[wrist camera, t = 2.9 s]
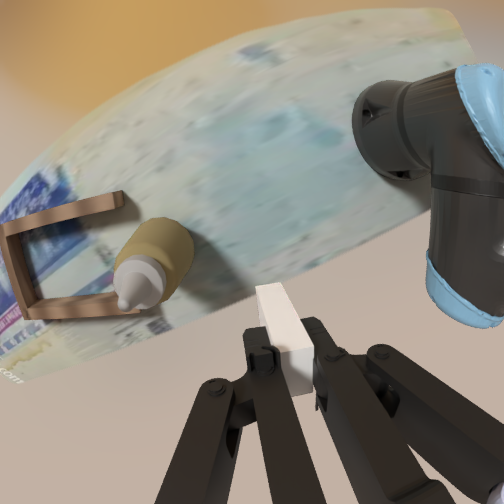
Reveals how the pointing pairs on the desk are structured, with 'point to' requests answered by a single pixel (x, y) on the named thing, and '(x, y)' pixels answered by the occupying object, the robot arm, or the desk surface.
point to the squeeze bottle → (152, 264)
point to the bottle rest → (19, 274)
